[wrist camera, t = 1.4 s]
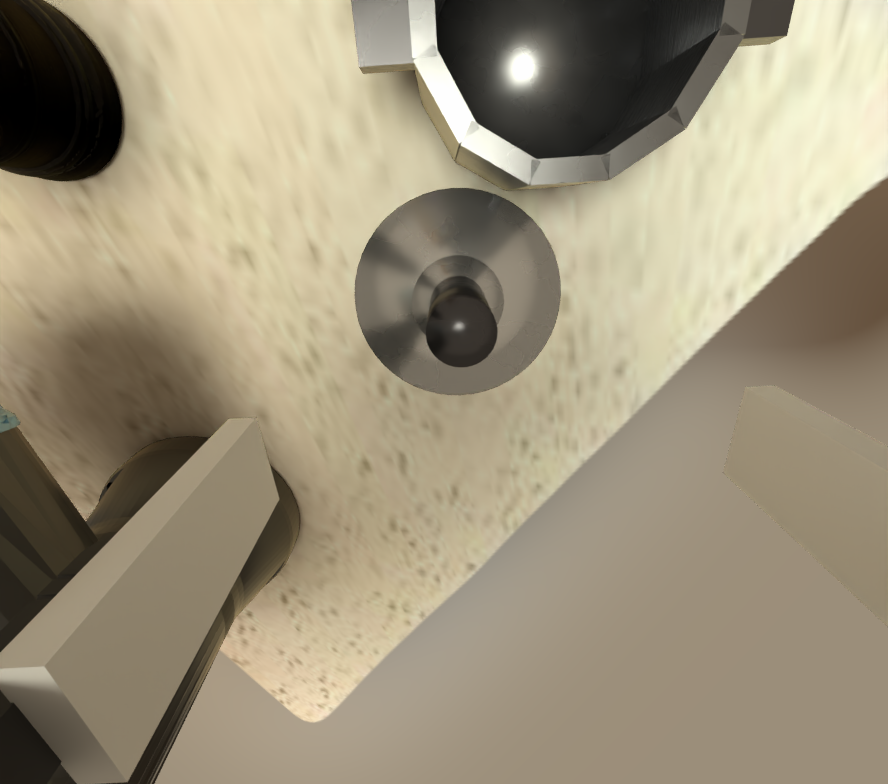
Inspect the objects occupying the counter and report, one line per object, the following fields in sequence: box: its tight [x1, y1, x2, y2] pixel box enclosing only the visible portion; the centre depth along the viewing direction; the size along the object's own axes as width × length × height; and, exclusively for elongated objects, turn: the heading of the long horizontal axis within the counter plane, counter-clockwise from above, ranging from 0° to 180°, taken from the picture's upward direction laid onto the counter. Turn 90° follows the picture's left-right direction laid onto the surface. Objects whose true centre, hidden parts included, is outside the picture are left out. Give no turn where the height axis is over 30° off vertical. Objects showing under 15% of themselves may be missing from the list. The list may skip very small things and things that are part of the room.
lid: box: [355, 188, 561, 395], centre depth 25 cm, size 14×14×9 cm
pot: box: [351, 0, 795, 191], centre depth 19 cm, size 18×13×8 cm
